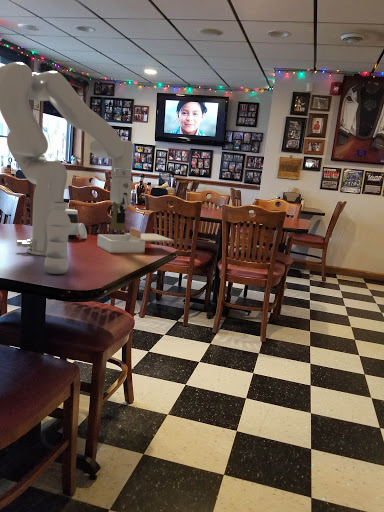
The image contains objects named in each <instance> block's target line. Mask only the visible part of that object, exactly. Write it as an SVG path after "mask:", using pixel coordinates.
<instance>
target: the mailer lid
mask: <svg viewBox="0 0 384 512" xmlns="http://www.w3.org/2000/svg"><path fill="white" fill-rule="evenodd" d="M124 235H127V236H130V237H132V238H134V239H137V240H139V241H145V242H173V241H174V240H173V239H171V238H169V237H165V236H163V235H160V234H157V233H142V230H140V229H138V228H136V227H133V226H130V227H129V232H127V233H124Z"/></svg>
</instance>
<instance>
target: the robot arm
mask: <svg viewBox="0 0 384 512" xmlns="http://www.w3.org/2000/svg"><path fill="white" fill-rule="evenodd" d="M32 71H33V70H32V69H31V68H30V67H29V66H28V65H27V64H25V63H23V62H21V61H15V62H9V63H7V64H5V65H2V66H0V114H1V116H2V119H3V120H4V121H5V124H6V125H7V128H8V130H9V132H8V134H7V136H6V145H7V147H8V150H9V152H10V153H11V155H12V157H13V159H14V160H15V162H16V164H17V166H18V167H19V169H20V171H21V172H22V174H23V175H24V177H25V178H26V179H27V180H28V181H29V182H30V183H31V184H33V185H35V188H34V191H33V199H32V201H33V202H32V223H31V224H32V228H31V229H32V231H31V232H32V233H31V237H29V239H26V240H16V247H22V248H26V252H27V253H28V254H30V255H36V256H45V257H46V254H47V246H48V234H47V224H46V220H47V217H48V216H49V214H50V213H51V212H52V211H53V208H52V202H53V201H58V202H65V201H64V198H65V192H66V191H65V190H66V187H67V182H68V171H67V168H66V166H65V165H64V164H63V163H62V162H61V161H60V160H59V159H57V158H54V157H46V155H45V154H46V153H47V151H48V148H49V143H48V139H47V137H46V135H45V133H44V132H43V129H42V128H41V126H40V124H39V122H38V120H37V118H36V117H35V115H34V112H33V111H32V109H31V106H30V105H31V104H30V102H29V101H30V100H31V101H40V102H47V101H49V102H50V103H51V105H52V106H53V107H54V108H55V109H56V110H57V112H58V113H59V114H60V115H61V116H62V118H64V119H65V121H66V122H67V123H68V125H70V126H72V127H74V129H78V130H80V131H82V132H84V133H86V134H87V135H89V136H91V137H92V138H93V139H91V141H90V142H89V143H90V144H89V149H90V153H91V154H92V155H93V156H95V157H97V158H99V159H111V168H110V169H111V170H110V171H111V172H110V177H111V182H110V192H109V199H110V203H111V217H112V216H113V210H114V208H113V202H115V203H116V204H118V213H117V221H116V222H117V223H125V224H126V214H127V209H128V208H129V206H130V205H131V202H132V167H133V157H134V156H133V154H134V143H133V142H132V141H130V140H126V139H122V138H121V137H120V135H119V134H118V132H117V131H116V130H115V129H114V128H113V127H112V126H111V124H110V123H109V122H107V121H106V119H104V118H102V117H101V116H100V115H99V114H98V113H97V112H95V111H94V110H93V109H91V108H90V107H89V106H88V105H87V104H86V103H85V102H84V100H83V99H82V98H81V96H80V95H79V94H78V93H77V91H76V90H75V89H74V87H72V85H71V84H70V83H69V81H68V80H67V79H66V77H64V75H62V73H61V72H58V71H56V70H49V71H44V72H39V73H37V72H32ZM121 203H123V204H121ZM121 206H122V207H121Z"/></svg>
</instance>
